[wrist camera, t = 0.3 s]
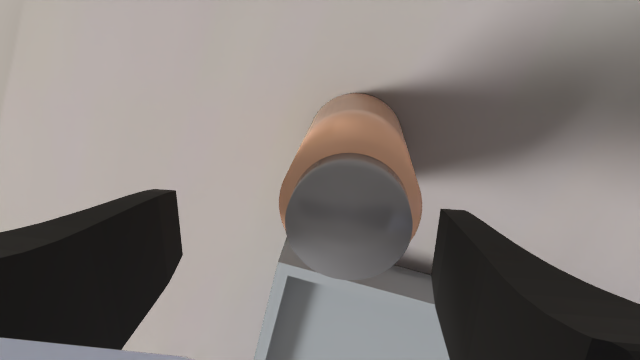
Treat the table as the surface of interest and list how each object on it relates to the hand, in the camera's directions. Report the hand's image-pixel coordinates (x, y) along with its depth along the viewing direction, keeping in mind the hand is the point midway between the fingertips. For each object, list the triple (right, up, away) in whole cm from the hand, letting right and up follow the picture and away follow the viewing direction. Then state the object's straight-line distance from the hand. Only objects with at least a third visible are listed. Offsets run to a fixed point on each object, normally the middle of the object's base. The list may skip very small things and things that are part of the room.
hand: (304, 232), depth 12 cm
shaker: (+2, +3, +9) cm, 9 cm away
